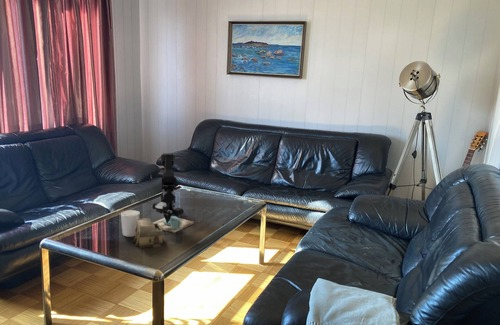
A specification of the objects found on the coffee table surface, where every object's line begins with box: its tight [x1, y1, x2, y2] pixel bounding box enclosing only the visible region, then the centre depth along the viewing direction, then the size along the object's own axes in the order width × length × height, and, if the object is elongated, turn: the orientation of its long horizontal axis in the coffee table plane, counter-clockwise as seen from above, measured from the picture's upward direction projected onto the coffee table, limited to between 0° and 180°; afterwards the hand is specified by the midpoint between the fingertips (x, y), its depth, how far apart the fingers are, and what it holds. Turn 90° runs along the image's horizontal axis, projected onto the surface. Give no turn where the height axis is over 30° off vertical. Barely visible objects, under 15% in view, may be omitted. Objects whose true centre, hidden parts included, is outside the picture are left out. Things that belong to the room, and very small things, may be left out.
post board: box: [152, 217, 195, 234], centre depth 235 cm, size 18×18×5 cm
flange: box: [163, 215, 181, 229], centre depth 232 cm, size 16×10×5 cm, turn 21°
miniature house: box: [133, 217, 166, 249], centre depth 208 cm, size 15×14×11 cm
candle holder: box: [120, 209, 141, 238], centre depth 218 cm, size 10×10×12 cm
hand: (167, 222), depth 228 cm, fingers closed
